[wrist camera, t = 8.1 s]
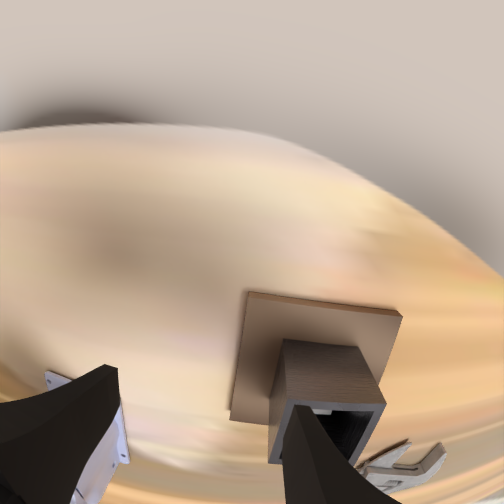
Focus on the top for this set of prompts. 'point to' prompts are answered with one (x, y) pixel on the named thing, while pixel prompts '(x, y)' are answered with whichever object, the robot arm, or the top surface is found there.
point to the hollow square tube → (325, 395)
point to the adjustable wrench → (401, 469)
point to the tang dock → (304, 329)
